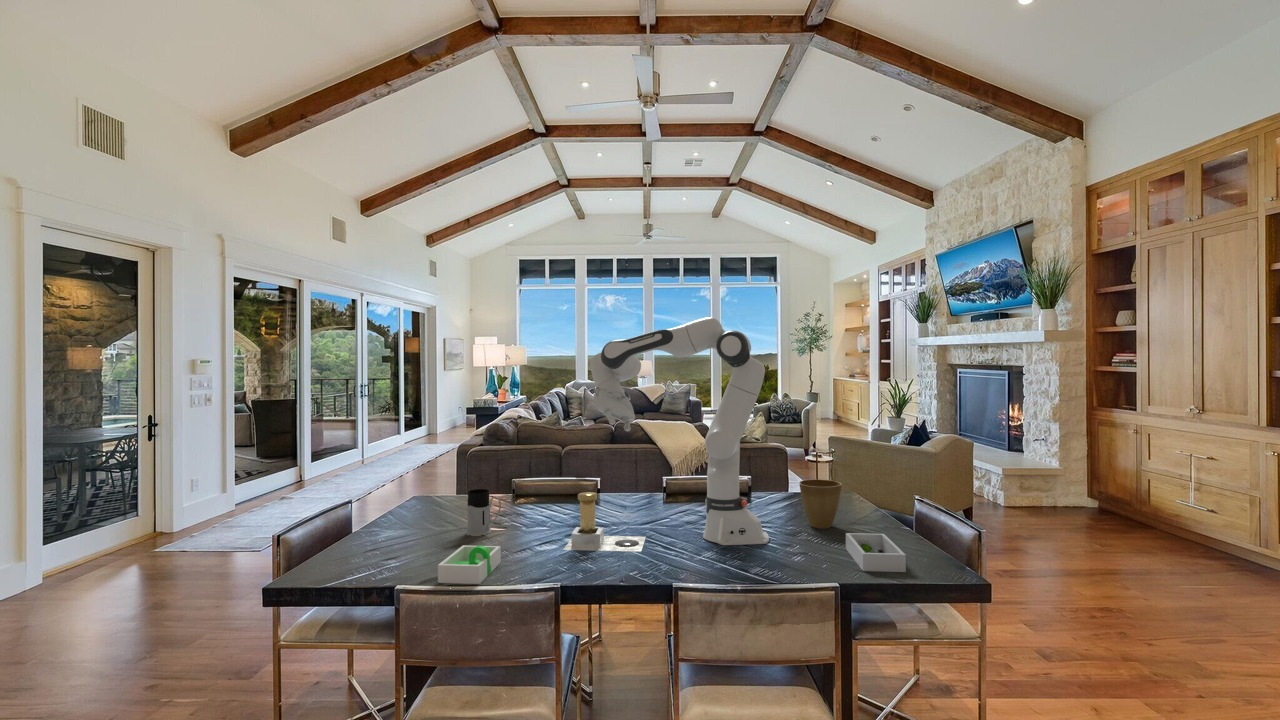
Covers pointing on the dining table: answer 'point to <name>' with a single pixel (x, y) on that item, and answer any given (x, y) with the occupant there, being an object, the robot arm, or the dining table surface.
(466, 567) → the parts tray
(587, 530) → the brass flanged pin
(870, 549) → the decorative flower
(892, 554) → the flower tray
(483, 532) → the glass holder
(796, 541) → the dining table surface
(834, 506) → the plant pot
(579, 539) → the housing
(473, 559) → the mechanical part
